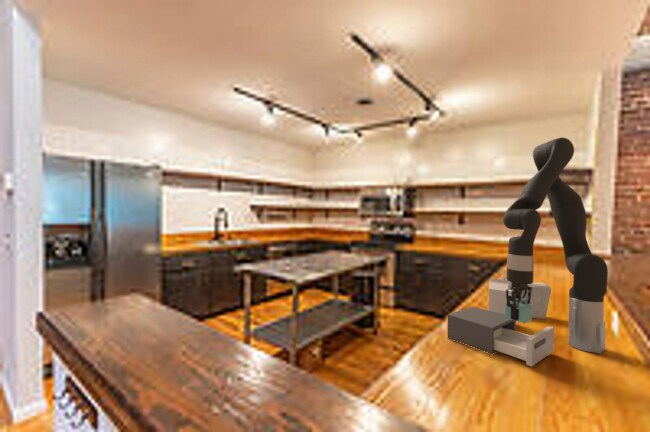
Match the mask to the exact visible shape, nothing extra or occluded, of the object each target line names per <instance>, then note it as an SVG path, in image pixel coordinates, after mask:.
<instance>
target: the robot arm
mask: <svg viewBox="0 0 650 432" xmlns="http://www.w3.org/2000/svg"><path fill="white" fill-rule="evenodd" d="M574 154H575V146H574V144H573V142H572V141H571V140H570V139H569V138H566V137H559V138H555V139H551V140H549V141H547V142H544V143H541V144H539V145H537V146H536V147H534V149H533V152H532V158H533V162H534V165H535V168H536V169H537V172H536V173H535V174H534V175H533V177H531V178H530V179H529V180H528V182H527V183H526V184H525V186H524V188H523V189H522V191H521V193H520V195H519V197H517V199H516V200H515V201H514V202H512V204H511V205H510V206H509V207H508V208H507V210H506V211H505V212H504V215H503V218H502V221H503V224H504V226H505V227H506V228H507V229H509V230H520V231H523V232H522V233H521V235H518V236H513V237H510V238H508V248H507V249H508V250H507V251H508V252H507V259H506V260H507V261H506V271H507V273H506V280H507V281H509V282H511V283H512V284H511V288H510V290H506V299H507V306H508V307H510V308H511V319H512V320H516V322H518V321H517V320H519V306H520V303H523V304H527V305H528V304H530V300H531V292H532V287H530V286H528V284H532V283H533V282H534V271H535V270H534V268H535V267H534V265H535V264H534V263H535V262H534V243H535V240H536V237H537V234H538V231H539V228H540V226H541V222H542V216H541V214H540V212H539V211H538V209H540V208H541V207H542V206H543V204H544V202H545V200H546V197H547V198H548V202H549V207H550V209H551V213H552V216H553V220H554V223H555V225H556V229H557V231H558V235H559V236H560V240H561V243H562V246H563V247H562V249H563V255H564V259H565V260H564V261H565V266H566V268H567V271H569V273H570V274H572V275H573V281H572V282H573V283H572V287H570V288H569V291H568V345H569V346H571V347H573V349H574V348H575V349H577V350H580V351H584V352H588V353H589V352H590V353H594V354H599V355H601V354H602V353H603V352H604V351H606V322H605V321H604V319H605V318H604V311H605V310H604V309H605V308H604V307H605V305H604V301H605V295H606V294H607V289H608V279H609V278H608V277H609V275H608V274H609V272H608V265H607V263H606V261H605V260H604V259H603V258H602V257H601V256H598V255H596V254H592V251H591V248H590V246H589V244H588V240H587V235H586V234H587V233H586V230H587V212H586V208H585V205H584V203H583V200H582V197H581V196H580V194H579V193H578V192H577V191H575V189H573V188H572V186H571V187H570V185H568V184H567V183H566V182H565V181H564V180H562V178H561V177H560V175H561V173H562V172H563V170H564V169H565V168H566V167H567V165H568V164H569V163H570V161H571V160H572V158H573V156H574ZM517 299H518V300H517ZM516 302H517V304H516Z"/></svg>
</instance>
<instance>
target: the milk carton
mask: <svg viewBox="0 0 650 432" xmlns="http://www.w3.org/2000/svg"><path fill="white" fill-rule="evenodd" d="M506 290H510V287H509V281H507V279H506V280H503V279H502V278H500V279H499V278H493V277H490V278H489V283H488V309H487V310H488V311H492V312H496V313H500V314H504V315H505V307H506V303H507V299H506Z"/></svg>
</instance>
